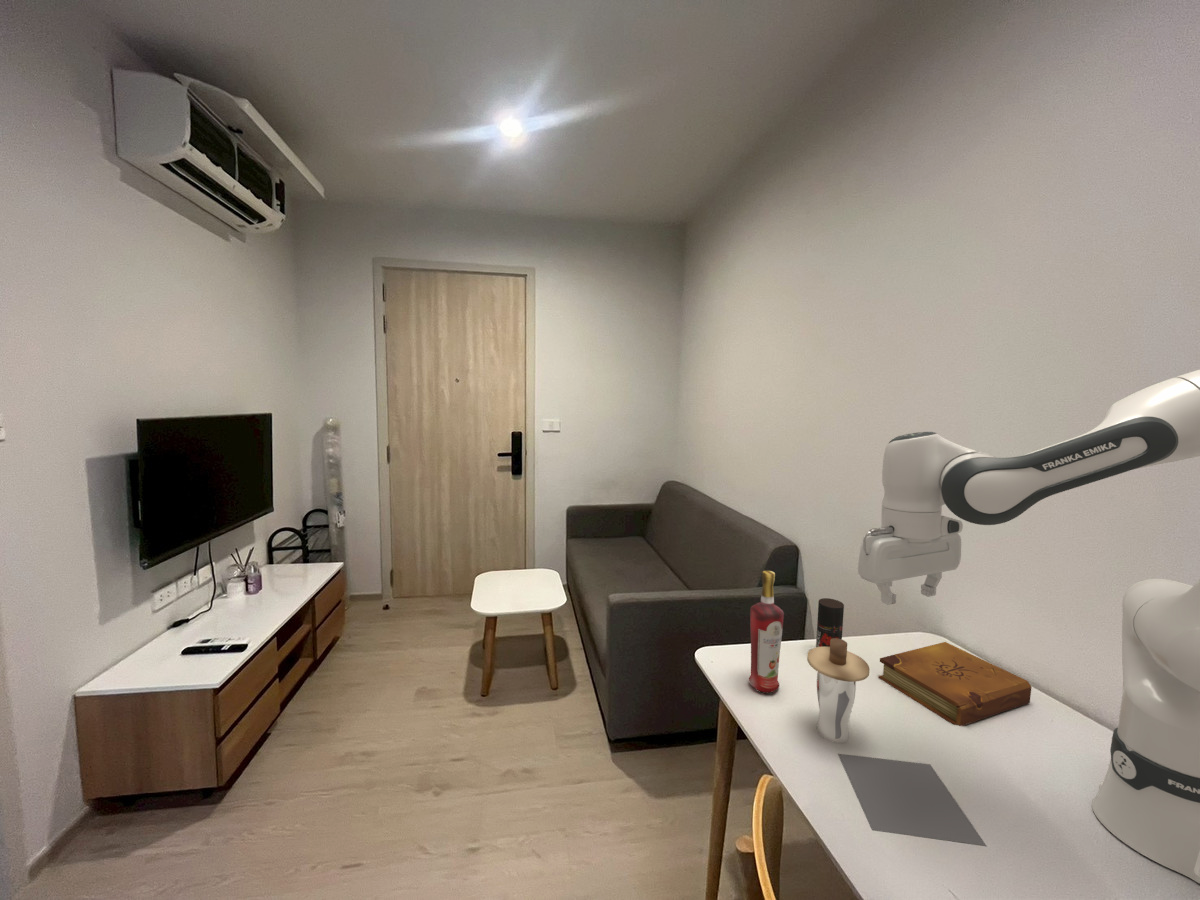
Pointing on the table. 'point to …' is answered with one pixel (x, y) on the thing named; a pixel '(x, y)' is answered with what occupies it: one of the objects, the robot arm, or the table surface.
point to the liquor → (765, 638)
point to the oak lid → (838, 662)
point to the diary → (954, 683)
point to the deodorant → (829, 621)
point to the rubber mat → (907, 799)
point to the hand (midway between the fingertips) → (908, 599)
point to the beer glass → (834, 707)
